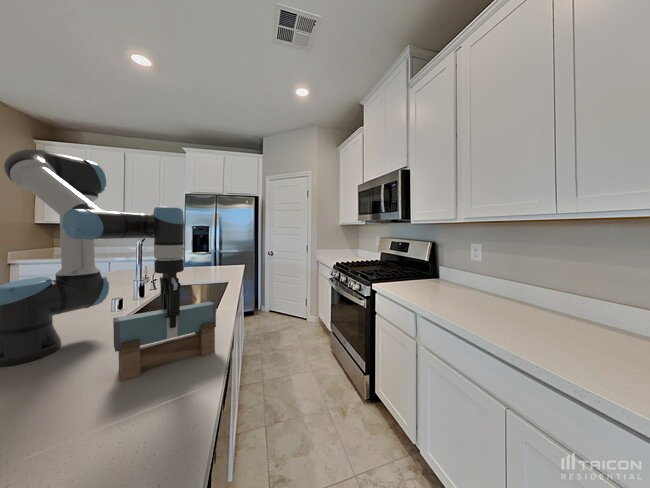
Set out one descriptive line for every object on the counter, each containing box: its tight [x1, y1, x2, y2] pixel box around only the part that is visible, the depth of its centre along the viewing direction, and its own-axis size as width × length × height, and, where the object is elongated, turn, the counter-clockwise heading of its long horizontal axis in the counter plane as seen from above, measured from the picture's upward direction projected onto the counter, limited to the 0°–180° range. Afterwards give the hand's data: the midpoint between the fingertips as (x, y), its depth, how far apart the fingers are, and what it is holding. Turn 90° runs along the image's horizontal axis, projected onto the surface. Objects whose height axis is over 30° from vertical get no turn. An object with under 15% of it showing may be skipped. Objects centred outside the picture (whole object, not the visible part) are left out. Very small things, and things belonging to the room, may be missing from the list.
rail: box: [112, 300, 217, 352], centre depth 77 cm, size 4×26×8 cm, turn 134°
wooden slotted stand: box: [117, 322, 216, 382], centre depth 77 cm, size 7×24×10 cm, turn 134°
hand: (170, 334), depth 77 cm, fingers closed on rail, 4 cm apart
